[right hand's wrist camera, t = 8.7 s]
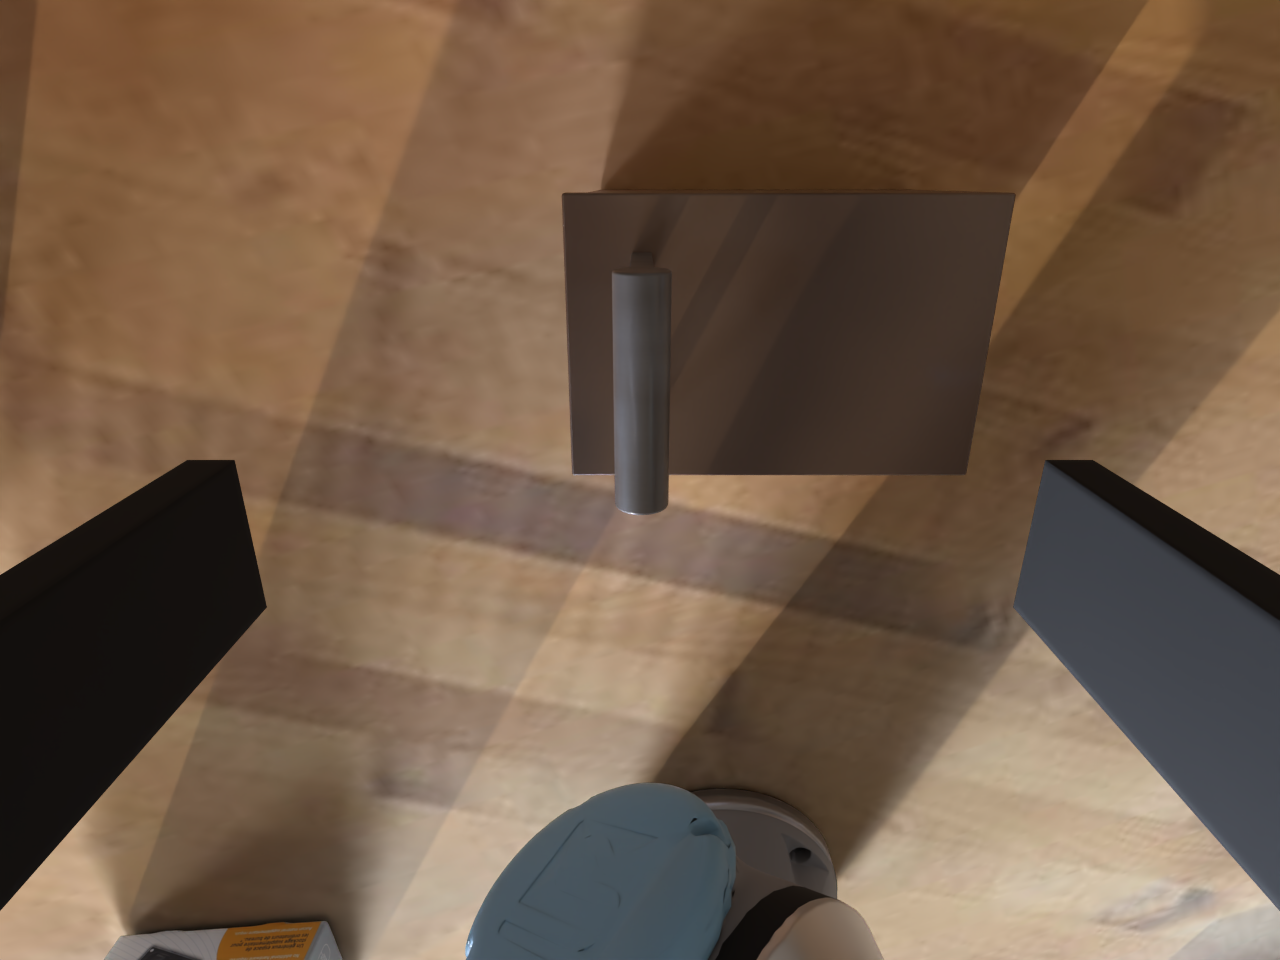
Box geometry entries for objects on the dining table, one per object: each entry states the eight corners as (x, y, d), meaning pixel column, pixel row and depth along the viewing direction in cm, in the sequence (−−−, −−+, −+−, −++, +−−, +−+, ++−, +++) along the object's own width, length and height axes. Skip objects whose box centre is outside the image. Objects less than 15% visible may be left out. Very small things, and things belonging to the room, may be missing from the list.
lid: (574, 464, 29) (549, 570, 21) (564, 192, 26) (530, 197, 18) (954, 465, 29) (1072, 571, 21) (1001, 192, 26) (1164, 197, 18)
